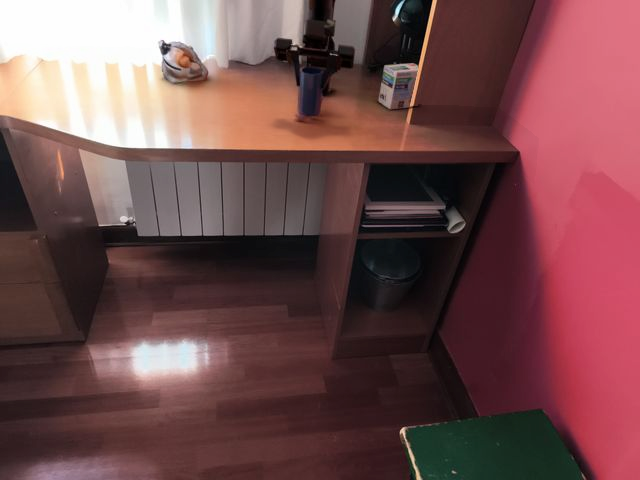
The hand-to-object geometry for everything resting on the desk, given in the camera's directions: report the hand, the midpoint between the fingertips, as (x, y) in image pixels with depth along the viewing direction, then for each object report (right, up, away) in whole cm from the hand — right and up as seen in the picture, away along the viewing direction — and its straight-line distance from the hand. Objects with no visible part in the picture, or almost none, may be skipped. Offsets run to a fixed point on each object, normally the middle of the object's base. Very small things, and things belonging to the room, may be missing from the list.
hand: (310, 87), depth 106 cm
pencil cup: (0, -4, +5) cm, 7 cm away
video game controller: (0, -2, +17) cm, 17 cm away
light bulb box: (+26, +5, +30) cm, 39 cm away
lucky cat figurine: (-38, +13, +32) cm, 51 cm away
